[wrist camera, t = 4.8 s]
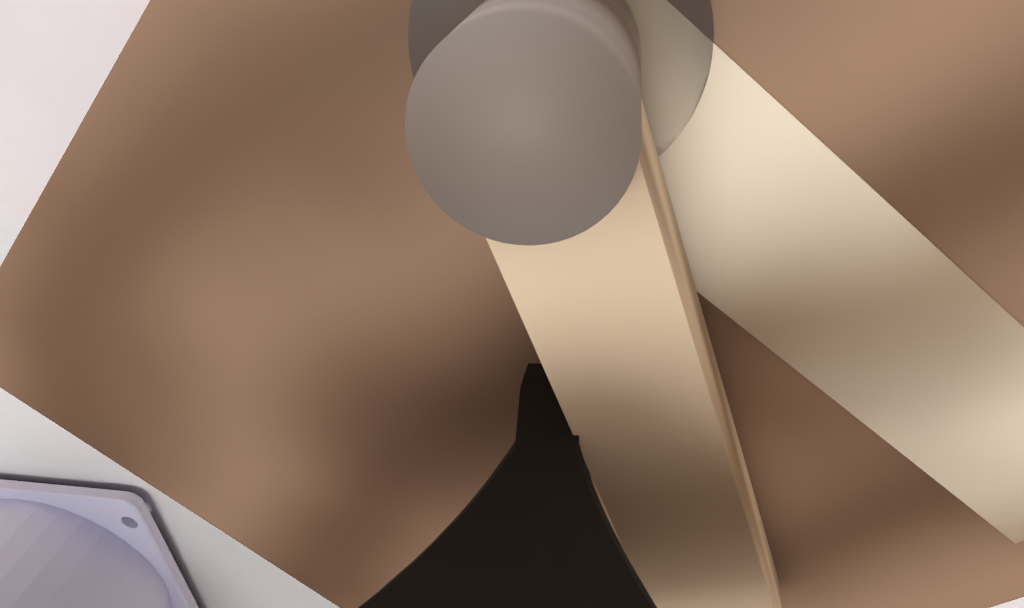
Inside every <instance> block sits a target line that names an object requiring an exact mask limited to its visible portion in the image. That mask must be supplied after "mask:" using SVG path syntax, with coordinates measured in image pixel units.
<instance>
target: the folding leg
mask: <svg viewBox="0 0 1024 608" xmlns="http://www.w3.org/2000/svg"><path fill="white" fill-rule="evenodd" d="M405 136H406V143H407V149H408V152H409V156H410V160H411V163H412V165H413V168H414V170H415V173H416V175H417V177H418V178H419V180H420V182H421V184H422V186H423V187H424V189H425V190H426V192H427V193H428V194H429V196H430V197H431V199H432V200H433V201H434V202H435V203H436V204H437V205H438V206H439V207H440V209H441V210H442V211H444V212H445V213H446V214H447V215H448V216H449V217H450V218H452V219H453V220H454V221H456V222H457V223H459V224H460V225H462V226H463V227H464V228H466V229H468V230H470V231H472V232H474V233H476V234H478V235H480V236H483V237H485V238H486V240H487V242H488V244H489V246H490V249H491V251H492V253H493V255H494V258H495V260H496V262H497V264H498V267H499V269H500V271H501V273H502V276H503V278H504V280H505V282H506V285H507V287H508V289H509V292H510V294H511V296H512V298H513V301H514V303H515V305H516V307H517V310H518V312H519V314H520V316H521V319H522V321H523V323H524V325H525V328H526V330H527V332H528V334H529V337H530V339H531V341H532V343H533V346H534V348H535V350H536V352H537V355H538V357H539V359H540V361H541V364H542V366H543V368H544V370H545V373H546V375H547V377H548V379H549V382H550V384H551V386H552V388H553V391H554V393H555V395H556V397H557V400H558V402H559V404H560V406H561V409H562V411H563V413H564V415H565V418H566V420H567V422H568V424H569V427H570V429H571V431H572V434H573V435H579V445H580V448H581V452H582V455H583V458H584V461H585V463H586V465H587V467H588V470H589V472H590V474H591V476H592V479H593V481H594V483H595V485H596V488H597V490H598V492H599V494H600V497H601V499H602V501H603V503H604V506H605V508H606V510H607V512H608V515H609V517H610V519H611V521H612V524H613V526H614V528H615V530H616V533H617V535H618V537H619V539H620V542H621V544H622V546H623V548H624V551H625V553H626V555H627V557H628V559H629V561H630V563H631V564H632V566H633V568H634V569H635V571H636V573H637V575H638V576H639V578H640V580H641V581H642V583H643V585H644V587H645V588H646V590H647V592H648V593H649V595H650V597H651V598H652V600H653V602H654V604H655V605H656V607H657V608H784V607H783V602H782V597H781V592H780V587H779V582H778V577H777V572H776V569H775V565H774V562H773V558H772V555H771V551H770V548H769V544H768V541H767V537H766V534H765V530H764V526H763V523H762V519H761V516H760V512H759V509H758V505H757V502H756V498H755V495H754V491H753V488H752V484H751V481H750V477H749V474H748V470H747V467H746V463H745V460H744V456H743V453H742V449H741V446H740V442H739V439H738V435H737V432H736V428H735V425H734V421H733V417H732V414H731V410H730V407H729V403H728V400H727V396H726V393H725V389H724V386H723V382H722V379H721V375H720V372H719V368H718V365H717V361H716V358H715V354H714V351H713V347H712V344H711V340H710V337H709V333H708V330H707V326H706V323H705V319H704V316H703V312H702V308H701V305H700V301H699V298H698V294H697V291H696V287H695V284H694V280H693V277H692V273H691V270H690V266H689V263H688V259H687V256H686V252H685V249H684V245H683V242H682V238H681V235H680V231H679V228H678V224H677V221H676V217H675V214H674V210H673V207H672V203H671V199H670V196H669V192H668V189H667V185H666V182H665V178H664V175H663V171H662V168H661V164H660V161H659V157H658V154H657V150H656V147H655V143H654V140H653V136H652V133H651V129H650V126H649V122H648V119H647V115H646V112H645V108H644V105H643V101H642V98H641V51H640V38H639V33H638V28H637V25H636V22H635V19H634V16H633V14H632V12H631V10H630V8H629V6H628V5H627V3H626V2H625V0H485V1H484V2H483V3H481V4H480V5H479V6H478V7H477V8H476V9H475V10H474V11H473V12H472V13H471V14H470V15H469V16H468V17H467V18H466V19H464V20H463V21H462V22H461V23H460V24H459V25H458V26H457V27H456V28H455V29H454V30H453V31H452V32H451V33H450V34H448V35H447V36H446V37H445V38H444V39H443V40H442V41H441V42H440V43H439V44H438V45H437V46H436V47H435V48H434V49H433V50H432V51H431V53H430V54H429V55H428V56H427V57H426V59H425V60H424V62H423V63H422V65H421V67H420V68H419V70H418V72H417V73H416V76H415V78H414V81H413V83H412V85H411V88H410V92H409V95H408V99H407V104H406V112H405Z"/></svg>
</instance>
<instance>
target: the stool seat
mask: <svg viewBox="0 0 1024 608" xmlns="http://www.w3.org/2000/svg"><path fill="white" fill-rule="evenodd" d="M484 1H485V0H150V2H149V4H148V6H147V7H146V9H145V11H144V13H143V15H142V16H141V18H140V20H139V22H138V23H137V25H136V27H135V29H134V31H133V32H132V34H131V36H130V38H129V39H128V41H127V43H126V45H125V47H124V48H123V50H122V52H121V54H120V55H119V57H118V59H117V61H116V63H115V64H114V66H113V68H112V70H111V71H110V73H109V75H108V77H107V79H106V80H105V82H104V84H103V86H102V87H101V89H100V91H99V93H98V95H97V96H96V98H95V100H94V102H93V103H92V105H91V107H90V109H89V111H88V112H87V114H86V116H85V118H84V119H83V121H82V123H81V125H80V126H79V128H78V130H77V132H76V134H75V135H74V137H73V139H72V141H71V142H70V144H69V146H68V148H67V150H66V151H65V153H64V155H63V157H62V158H61V160H60V162H59V164H58V166H57V167H56V169H55V171H54V173H53V174H52V176H51V178H50V180H49V182H48V183H47V185H46V187H45V189H44V190H43V192H42V194H41V196H40V198H39V199H38V201H37V203H36V205H35V206H34V208H33V210H32V212H31V214H30V215H29V217H28V219H27V221H26V222H25V224H24V226H23V228H22V230H21V231H20V233H19V235H18V237H17V238H16V240H15V242H14V244H13V245H12V247H11V249H10V251H9V253H8V254H7V256H6V258H5V260H4V261H3V263H2V265H1V267H0V387H1V388H2V389H4V390H5V391H7V392H8V393H10V394H11V395H13V396H15V397H16V398H18V399H19V400H21V401H22V402H24V403H25V404H27V405H28V406H30V407H32V408H33V409H35V410H36V411H38V412H39V413H41V414H42V415H44V416H45V417H47V418H48V419H50V420H52V421H53V422H55V423H56V424H58V425H59V426H61V427H62V428H64V429H65V430H67V431H69V432H70V433H72V434H73V435H75V436H76V437H78V438H79V439H81V440H82V441H84V442H85V443H87V444H89V445H90V446H92V447H93V448H95V449H96V450H98V451H99V452H101V453H102V454H104V455H106V456H107V457H109V458H110V459H112V460H113V461H115V462H116V463H118V464H119V465H121V466H122V467H124V468H126V469H127V470H129V471H130V472H132V473H133V474H135V475H136V476H138V477H139V478H141V479H143V480H144V481H146V482H147V483H149V484H150V485H152V486H153V487H155V488H156V489H158V490H159V491H161V492H163V493H164V494H166V495H167V496H169V497H170V498H172V499H173V500H175V501H176V502H178V503H180V504H181V505H183V506H184V507H186V508H187V509H189V510H190V511H192V512H193V513H195V514H197V515H198V516H200V517H201V518H203V519H204V520H206V521H207V522H209V523H210V524H212V525H213V526H215V527H217V528H218V529H220V530H221V531H223V532H224V533H226V534H227V535H229V536H230V537H232V538H234V539H235V540H237V541H238V542H240V543H241V544H243V545H244V546H246V547H247V548H249V549H250V550H252V551H254V552H255V553H257V554H258V555H260V556H261V557H263V558H264V559H266V560H267V561H269V562H271V563H272V564H274V565H275V566H277V567H278V568H280V569H281V570H283V571H284V572H286V573H287V574H289V575H291V576H292V577H294V578H295V579H297V580H298V581H300V582H301V583H303V584H304V585H306V586H308V587H309V588H311V589H312V590H314V591H315V592H317V593H318V594H320V595H321V596H323V597H324V598H326V599H328V600H329V601H331V602H332V603H334V604H335V605H337V606H338V607H340V608H358V607H359V606H361V605H362V604H363V603H365V602H366V601H367V600H368V599H370V598H371V597H372V596H373V595H375V594H376V593H377V592H378V591H379V590H380V589H381V588H383V587H384V586H385V585H386V584H387V583H388V582H389V581H391V580H392V579H393V578H394V577H395V576H396V575H397V574H399V573H400V572H401V571H402V570H403V569H404V568H405V567H407V566H408V565H409V564H410V563H411V562H412V561H413V560H415V559H416V558H417V557H418V556H419V555H420V554H421V553H422V552H423V551H424V550H425V549H426V548H427V547H428V546H429V545H430V544H431V543H432V542H433V541H434V540H435V539H436V538H437V537H438V536H439V535H440V534H441V533H442V532H443V531H444V530H445V529H446V528H447V527H448V525H449V524H450V523H451V522H452V521H453V520H454V519H455V518H456V517H457V516H458V515H459V514H460V513H461V511H462V510H463V509H464V508H465V507H466V506H467V504H468V503H469V502H470V501H471V500H472V499H473V497H474V496H475V495H476V494H477V493H478V491H479V490H480V489H481V488H482V486H483V485H484V484H485V482H486V481H487V480H488V479H489V477H490V476H491V475H492V473H493V472H494V470H495V469H496V468H497V466H498V465H499V463H500V462H501V461H502V459H503V458H504V456H505V455H506V454H507V452H508V451H509V449H510V448H511V447H512V445H513V444H514V442H515V440H516V428H517V417H518V407H519V396H520V387H521V384H522V380H523V377H524V374H525V371H526V368H527V366H528V363H539V364H541V361H540V359H539V357H538V355H537V352H536V350H535V348H534V346H533V343H532V341H531V339H530V337H529V334H528V332H527V330H526V328H525V325H524V323H523V321H522V319H521V316H520V314H519V312H518V310H517V307H516V305H515V303H514V301H513V298H512V296H511V294H510V292H509V289H508V287H507V285H506V282H505V280H504V278H503V276H502V273H501V271H500V269H499V267H498V264H497V262H496V260H495V258H494V255H493V253H492V251H491V249H490V246H489V244H488V242H487V240H486V238H485V237H483V236H480V235H478V234H476V233H474V232H472V231H470V230H468V229H466V228H464V227H463V226H462V225H460V224H459V223H457V222H456V221H454V220H453V219H452V218H450V217H449V216H448V215H447V214H446V213H445V212H444V211H442V210H441V209H440V207H439V206H438V205H437V204H436V203H435V202H434V201H433V200H432V199H431V197H430V196H429V194H428V193H427V192H426V190H425V189H424V187H423V186H422V184H421V182H420V180H419V178H418V177H417V175H416V173H415V170H414V168H413V165H412V163H411V160H410V156H409V152H408V149H407V143H406V136H405V112H406V104H407V99H408V95H409V92H410V88H411V85H412V83H413V81H414V78H415V76H416V73H417V72H418V70H419V68H420V67H421V65H422V63H423V62H424V60H425V59H426V57H427V56H428V55H429V54H430V53H431V51H432V50H433V49H434V48H435V47H436V46H437V45H438V44H439V43H440V42H441V41H442V40H443V39H444V38H445V37H446V36H447V35H448V34H450V33H451V32H452V31H453V30H454V29H455V28H456V27H457V26H458V25H459V24H460V23H461V22H462V21H463V20H464V19H466V18H467V17H468V16H469V15H470V14H471V13H472V12H473V11H474V10H475V9H476V8H477V7H478V6H479V5H480V4H481V3H483V2H484ZM625 2H626V3H627V5H628V6H629V8H630V10H631V12H632V14H633V16H634V19H635V22H636V25H637V28H638V33H639V38H640V51H641V98H642V101H643V105H644V108H645V112H646V115H647V119H648V122H649V126H650V129H651V133H652V136H653V140H654V143H655V147H656V150H657V154H658V157H659V161H660V164H661V168H662V171H663V175H664V178H665V182H666V185H667V189H668V192H669V196H670V199H671V203H672V207H673V210H674V214H675V217H676V221H677V224H678V228H679V231H680V235H681V238H682V242H683V245H684V249H685V252H686V256H687V259H688V263H689V266H690V270H691V273H692V277H693V280H694V284H695V287H696V291H697V294H698V298H699V301H700V305H701V308H702V312H703V316H704V319H705V323H706V326H707V330H708V333H709V337H710V340H711V344H712V347H713V351H714V354H715V358H716V361H717V365H718V368H719V372H720V375H721V379H722V382H723V386H724V389H725V393H726V396H727V400H728V403H729V407H730V410H731V414H732V417H733V421H734V425H735V428H736V432H737V435H738V439H739V442H740V446H741V449H742V453H743V456H744V460H745V463H746V467H747V470H748V474H749V477H750V481H751V484H752V488H753V491H754V495H755V498H756V502H757V505H758V509H759V512H760V516H761V519H762V523H763V526H764V530H765V534H766V537H767V541H768V544H769V548H770V551H771V555H772V558H773V562H774V565H775V569H776V572H777V577H778V582H779V587H780V592H781V597H782V602H783V607H784V608H989V607H992V606H996V605H999V604H1002V603H1005V602H1009V601H1012V600H1015V599H1018V598H1021V597H1024V0H625ZM591 480H592V482H593V485H594V488H595V490H596V492H597V495H598V497H599V500H600V502H601V504H602V507H603V509H604V511H605V513H606V515H607V518H608V520H609V522H610V524H611V526H612V528H613V530H614V532H615V534H616V536H617V538H618V540H619V542H620V539H619V537H618V535H617V533H616V530H615V528H614V526H613V524H612V521H611V519H610V517H609V515H608V512H607V510H606V508H605V506H604V503H603V501H602V499H601V497H600V494H599V492H598V490H597V488H596V485H595V483H594V481H593V479H592V476H591ZM620 544H621V542H620ZM621 546H622V544H621ZM622 548H623V546H622ZM623 550H624V548H623ZM624 552H625V551H624ZM625 554H626V553H625ZM626 556H627V555H626Z"/></svg>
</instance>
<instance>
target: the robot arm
mask: <svg viewBox="0 0 1024 608" xmlns="http://www.w3.org/2000/svg"><path fill="white" fill-rule="evenodd" d="M0 608H199V607H198V605H197V603H196V601H195V599H194V597H193V595H192V593H191V591H190V589H189V587H188V585H187V583H186V581H185V579H184V578H183V576H182V574H181V572H180V570H179V568H178V566H177V564H176V562H175V560H174V558H173V556H172V554H171V552H170V550H169V548H168V546H167V544H166V542H165V541H164V539H163V537H162V535H161V533H160V531H159V529H158V527H157V525H156V523H155V521H154V519H153V517H152V515H151V513H150V511H149V509H148V507H147V505H146V504H145V502H144V501H143V499H142V498H141V497H139V496H138V495H136V494H134V493H132V492H128V491H119V490H109V489H98V488H87V487H77V486H66V485H56V484H45V483H35V482H24V481H14V480H3V479H0ZM358 608H657V607H656V605H655V604H654V602H653V600H652V598H651V597H650V595H649V593H648V592H647V590H646V588H645V587H644V585H643V583H642V581H641V580H640V578H639V576H638V575H637V573H636V571H635V569H634V568H633V566H632V564H631V563H630V561H629V559H628V557H627V556H626V554H625V552H624V550H623V548H622V546H621V544H620V542H619V540H618V538H617V536H616V534H615V532H614V530H613V528H612V526H611V524H610V522H609V520H608V518H607V515H606V513H605V511H604V509H603V507H602V504H601V502H600V500H599V497H598V495H597V492H596V490H595V488H594V485H593V482H592V480H591V474H590V472H589V470H588V467H587V465H586V463H585V461H584V458H583V455H582V452H581V448H580V445H579V435H573V434H572V431H571V429H570V427H569V424H568V422H567V420H566V418H565V415H564V413H563V411H562V409H561V406H560V404H559V402H558V400H557V397H556V395H555V393H554V391H553V388H552V386H551V384H550V382H549V379H548V377H547V375H546V373H545V370H544V368H543V366H542V364H539V363H528V366H527V368H526V371H525V374H524V377H523V380H522V384H521V387H520V396H519V407H518V417H517V428H516V440H515V442H514V444H513V445H512V447H511V448H510V449H509V451H508V452H507V454H506V455H505V456H504V458H503V459H502V461H501V462H500V463H499V465H498V466H497V468H496V469H495V470H494V472H493V473H492V475H491V476H490V477H489V479H488V480H487V481H486V482H485V484H484V485H483V486H482V488H481V489H480V490H479V491H478V493H477V494H476V495H475V496H474V497H473V499H472V500H471V501H470V502H469V503H468V504H467V506H466V507H465V508H464V509H463V510H462V511H461V513H460V514H459V515H458V516H457V517H456V518H455V519H454V520H453V521H452V522H451V523H450V524H449V525H448V527H447V528H446V529H445V530H444V531H443V532H442V533H441V534H440V535H439V536H438V537H437V538H436V539H435V540H434V541H433V542H432V543H431V544H430V545H429V546H428V547H427V548H426V549H425V550H424V551H423V552H422V553H421V554H420V555H419V556H418V557H417V558H416V559H415V560H413V561H412V562H411V563H410V564H409V565H408V566H407V567H405V568H404V569H403V570H402V571H401V572H400V573H399V574H397V575H396V576H395V577H394V578H393V579H392V580H391V581H389V582H388V583H387V584H386V585H385V586H384V587H383V588H381V589H380V590H379V591H378V592H377V593H376V594H375V595H373V596H372V597H371V598H370V599H368V600H367V601H366V602H365V603H363V604H362V605H361V606H359V607H358Z"/></svg>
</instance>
